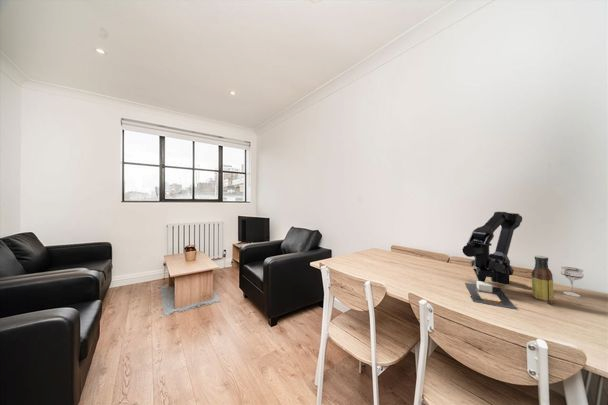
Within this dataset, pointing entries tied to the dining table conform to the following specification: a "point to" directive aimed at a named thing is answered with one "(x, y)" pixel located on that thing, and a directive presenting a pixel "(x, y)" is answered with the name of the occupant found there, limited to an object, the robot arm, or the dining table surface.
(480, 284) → the clip block
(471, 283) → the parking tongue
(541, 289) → the sauce bottle
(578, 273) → the wineglass
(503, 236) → the robot arm
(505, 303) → the plate
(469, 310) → the dining table surface
